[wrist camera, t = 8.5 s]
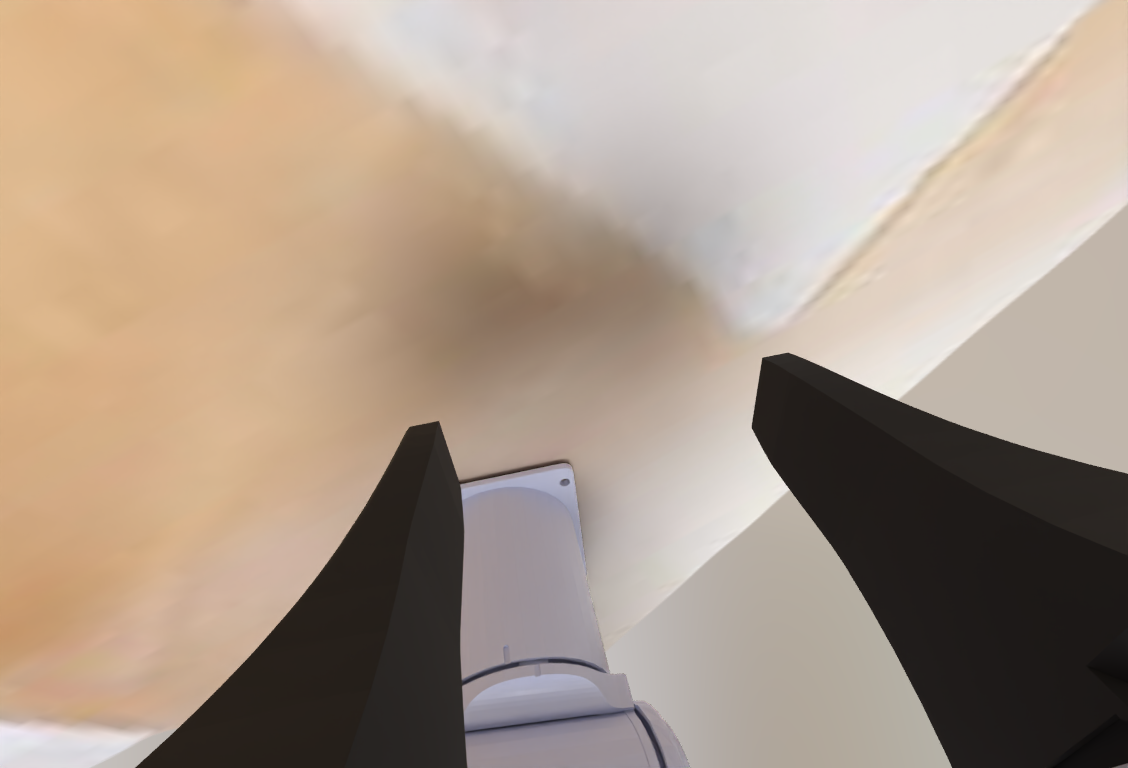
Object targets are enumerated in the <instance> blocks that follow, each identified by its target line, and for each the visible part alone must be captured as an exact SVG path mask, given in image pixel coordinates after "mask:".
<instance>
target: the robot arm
mask: <svg viewBox="0 0 1128 768" xmlns="http://www.w3.org/2000/svg"><path fill="white" fill-rule="evenodd" d="M752 429H753V431H754V433H755V435H756V437H757V439H758V441H759V443H760V445H761V447H762V448H763V450H764V452H765V454H766V455H767V457H768V459H769V461H770V462H771V464H772V466H773V467H774V469H775V470H776V471H777V473H778V474H779V476H780V477H781V478H782V480H783V481H784V482H785V484H786V485H787V486H788V488H789V489H790V491H791V492H792V493H793V495H794V496H795V497H796V499H797V500H798V501H799V503H800V504H801V505H802V507H803V508H804V509H805V511H806V512H807V513H808V514H809V516H810V517H811V518H812V520H813V521H814V523H815V524H816V525H817V527H818V528H819V529H820V531H821V532H822V533H823V535H824V536H825V537H826V539H827V540H828V541H829V543H830V544H831V545H832V547H833V548H834V550H835V551H836V553H837V554H838V556H839V557H840V559H841V560H842V562H843V563H844V565H845V566H846V568H847V569H848V571H849V573H850V575H851V576H852V578H853V580H854V581H855V583H856V585H857V586H858V588H859V590H860V591H861V593H862V595H863V596H864V598H865V600H866V601H867V603H868V605H869V606H870V608H871V610H872V612H873V614H874V615H875V617H876V619H877V620H878V623H879V624H880V626H881V628H882V629H883V631H884V633H885V635H886V637H887V639H888V640H889V642H890V644H891V646H892V647H893V649H894V651H895V653H896V655H897V657H898V659H899V661H900V663H901V664H902V667H903V668H904V670H905V672H906V674H907V676H908V678H909V680H910V682H911V684H912V686H913V688H914V690H915V692H916V693H917V695H918V697H919V699H920V701H921V703H922V705H923V707H924V709H925V711H926V713H927V716H928V718H929V720H930V722H931V724H932V726H933V728H934V730H935V732H936V734H937V736H938V739H939V740H940V743H941V745H942V747H943V749H944V751H945V753H946V755H947V757H948V759H949V762H950V764H951V766H952V768H1128V474H1126V473H1122V472H1118V471H1113V470H1110V469H1106V468H1102V467H1097V466H1093V465H1089V464H1086V463H1082V462H1078V461H1075V460H1071V459H1067V458H1063V457H1060V456H1056V455H1052V454H1049V453H1045V452H1041V451H1038V450H1034V449H1031V448H1028V447H1024V446H1021V445H1018V444H1014V443H1011V442H1008V441H1005V440H1002V439H999V438H996V437H993V436H990V435H987V434H984V433H981V432H978V431H975V430H972V429H969V428H966V427H963V426H960V425H958V424H955V423H952V422H949V421H947V420H944V419H942V418H939V417H937V416H934V415H932V414H929V413H927V412H924V411H921V410H919V409H917V408H914V407H912V406H909V405H907V404H904V403H902V402H900V401H897V400H895V399H893V398H890V397H888V396H886V395H884V394H881V393H879V392H877V391H875V390H872V389H870V388H868V387H866V386H863V385H861V384H859V383H857V382H855V381H852V380H850V379H848V378H846V377H844V376H841V375H839V374H837V373H835V372H833V371H830V370H828V369H826V368H824V367H822V366H819V365H817V364H815V363H813V362H810V361H808V360H806V359H803V358H801V357H798V356H796V355H793V354H790V353H784V354H779V355H774V356H769V357H764V358H762V364H761V370H760V376H759V383H758V389H757V396H756V402H755V409H754V415H753V422H752ZM563 479H566V480H564V481H561V480H563ZM586 576H587V570H586V563H585V555H584V548H583V540H582V533H581V525H580V518H579V510H578V502H577V495H576V487H575V480H574V473H573V469H572V466H571V465H569V464H567V463H561V464H556V465H551V466H546V467H541V468H537V469H532V470H527V471H522V472H517V473H512V474H508V475H503V476H498V477H493V478H488V479H484V480H479V481H474V482H469V483H464V484H460V483H459V480H458V477H457V474H456V471H455V468H454V465H453V462H452V459H451V456H450V453H449V450H448V447H447V444H446V441H445V438H444V435H443V432H442V429H441V426H440V423H439V421H437V422H432V423H427V424H422V425H417V426H412V427H409V429H408V430H407V431H406V433H405V435H404V437H403V439H402V441H401V443H400V445H399V447H398V449H397V451H396V452H395V454H394V456H393V458H392V460H391V462H390V464H389V466H388V467H387V469H386V471H385V473H384V475H383V477H382V478H381V480H380V482H379V483H378V485H377V487H376V489H375V490H374V492H373V494H372V495H371V497H370V499H369V501H368V502H367V504H366V506H365V507H364V509H363V511H362V512H361V514H360V515H359V517H358V518H357V520H356V521H355V523H354V524H353V526H352V527H351V529H350V531H349V532H348V534H347V535H346V537H345V538H344V540H343V541H342V543H341V544H340V546H339V547H338V549H337V550H336V551H335V553H334V554H333V556H332V557H331V558H330V560H329V561H328V563H327V564H326V565H325V567H324V568H323V569H322V571H321V572H320V574H319V575H318V576H317V577H316V579H315V580H314V581H313V583H312V584H311V585H310V586H309V588H308V589H307V590H306V592H305V593H304V594H303V595H302V597H301V598H300V599H299V600H298V602H297V603H296V604H295V605H294V606H293V607H292V609H291V610H290V611H289V612H288V613H287V615H286V616H285V617H284V618H283V619H282V620H281V622H280V623H279V624H278V625H277V626H276V627H275V628H274V630H273V631H272V632H271V633H270V634H269V635H268V636H267V638H266V639H265V640H264V641H263V642H262V643H261V644H260V645H259V647H258V648H257V649H256V650H255V651H254V652H253V653H252V654H251V656H250V657H249V658H248V659H247V660H246V661H245V662H244V663H243V664H242V665H241V666H240V667H239V668H238V669H237V670H236V671H235V672H234V673H233V674H232V675H231V676H230V677H229V679H228V680H227V681H226V682H225V683H224V684H223V685H222V686H221V687H220V688H219V689H218V690H217V691H216V692H215V693H214V694H213V695H212V696H211V697H210V698H209V699H208V700H207V701H206V702H205V703H204V704H203V705H202V706H201V707H200V708H199V709H198V710H197V711H196V712H195V713H194V714H193V715H192V716H191V717H189V718H188V719H187V720H186V721H185V722H184V723H183V724H182V725H181V726H180V727H179V728H178V729H177V730H176V731H175V732H174V733H173V734H172V735H171V736H170V737H169V738H167V739H166V740H165V741H164V742H163V743H162V744H161V745H160V746H159V747H158V748H157V749H155V750H154V751H153V752H152V753H151V754H150V755H149V756H148V757H147V758H145V759H144V760H143V761H142V762H141V763H140V764H139V765H138V766H137V767H136V768H690V765H689V763H688V760H687V758H686V755H685V753H684V751H683V748H682V746H681V744H680V742H679V740H678V738H677V737H676V735H675V733H674V732H673V730H672V729H671V727H670V726H669V725H668V724H667V723H666V721H664V719H663V718H662V717H661V715H660V714H659V713H658V711H656V709H655V708H654V707H653V706H652V705H651V704H649V703H647V702H645V701H633V699H632V696H631V693H630V688H629V685H628V681H627V677H626V675H625V674H610V671H609V667H608V663H607V659H606V655H605V651H604V646H603V642H602V638H601V634H600V630H599V626H598V622H597V618H596V614H595V610H594V606H593V602H592V598H591V594H590V590H589V586H588V582H587V578H586Z"/></svg>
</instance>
